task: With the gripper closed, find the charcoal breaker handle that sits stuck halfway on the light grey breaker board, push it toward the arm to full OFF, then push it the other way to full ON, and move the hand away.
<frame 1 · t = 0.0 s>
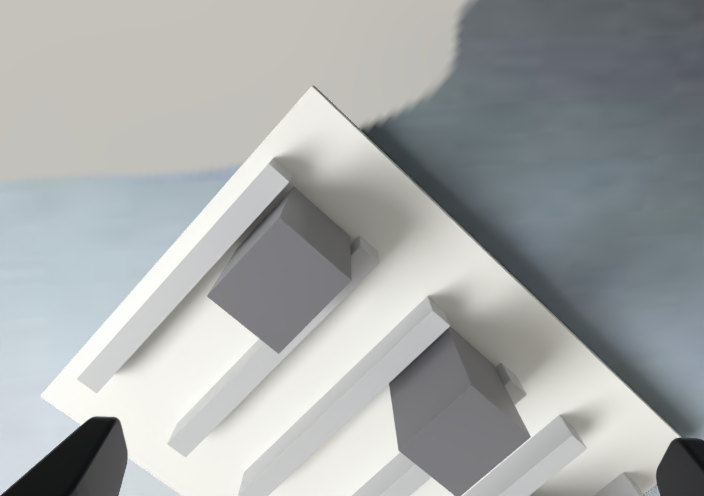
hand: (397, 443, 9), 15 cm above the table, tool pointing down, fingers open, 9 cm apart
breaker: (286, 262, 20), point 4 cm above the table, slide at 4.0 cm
breaker board: (374, 406, 27), on the table
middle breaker: (451, 403, 22), point 4 cm above the table, slide at 4.0 cm
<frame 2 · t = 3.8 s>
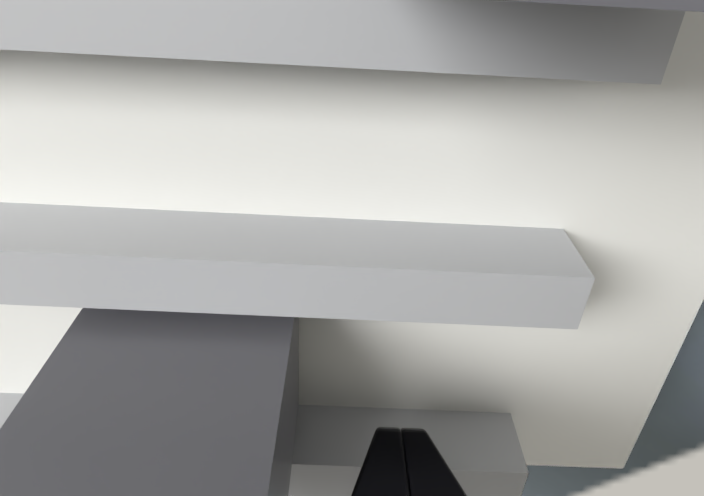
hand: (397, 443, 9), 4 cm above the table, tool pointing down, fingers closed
tripped breaker: (167, 467, 8), point 5 cm above the table, slide at -0.3 cm, touching gripper
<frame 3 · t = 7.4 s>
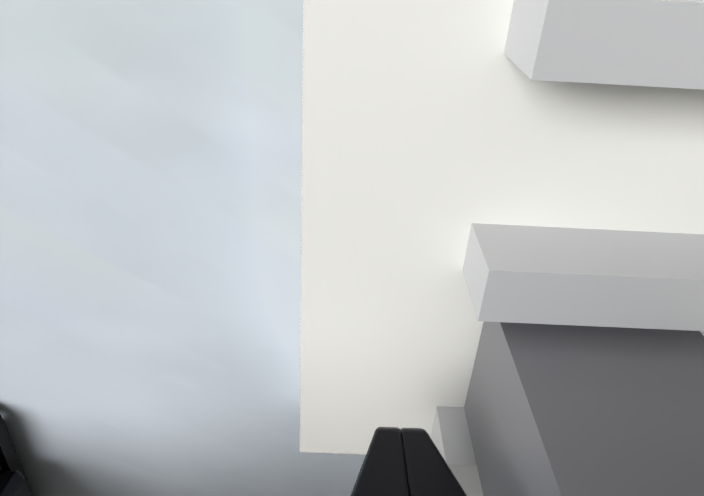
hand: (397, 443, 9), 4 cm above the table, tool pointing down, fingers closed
tripped breaker: (618, 476, 9), point 5 cm above the table, slide at -3.7 cm, touching gripper
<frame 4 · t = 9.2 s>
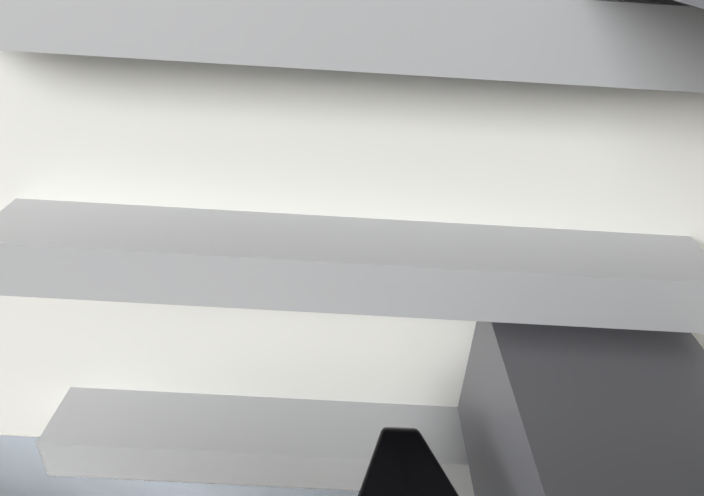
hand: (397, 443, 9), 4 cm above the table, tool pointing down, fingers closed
tripped breaker: (606, 476, 9), point 5 cm above the table, slide at 4.2 cm, touching gripper
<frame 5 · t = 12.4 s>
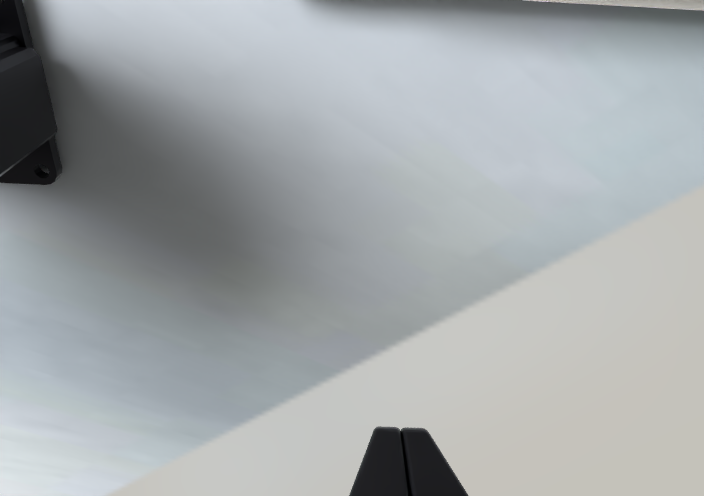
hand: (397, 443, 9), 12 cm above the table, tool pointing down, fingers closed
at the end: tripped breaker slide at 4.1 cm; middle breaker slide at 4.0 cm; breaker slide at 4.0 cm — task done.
